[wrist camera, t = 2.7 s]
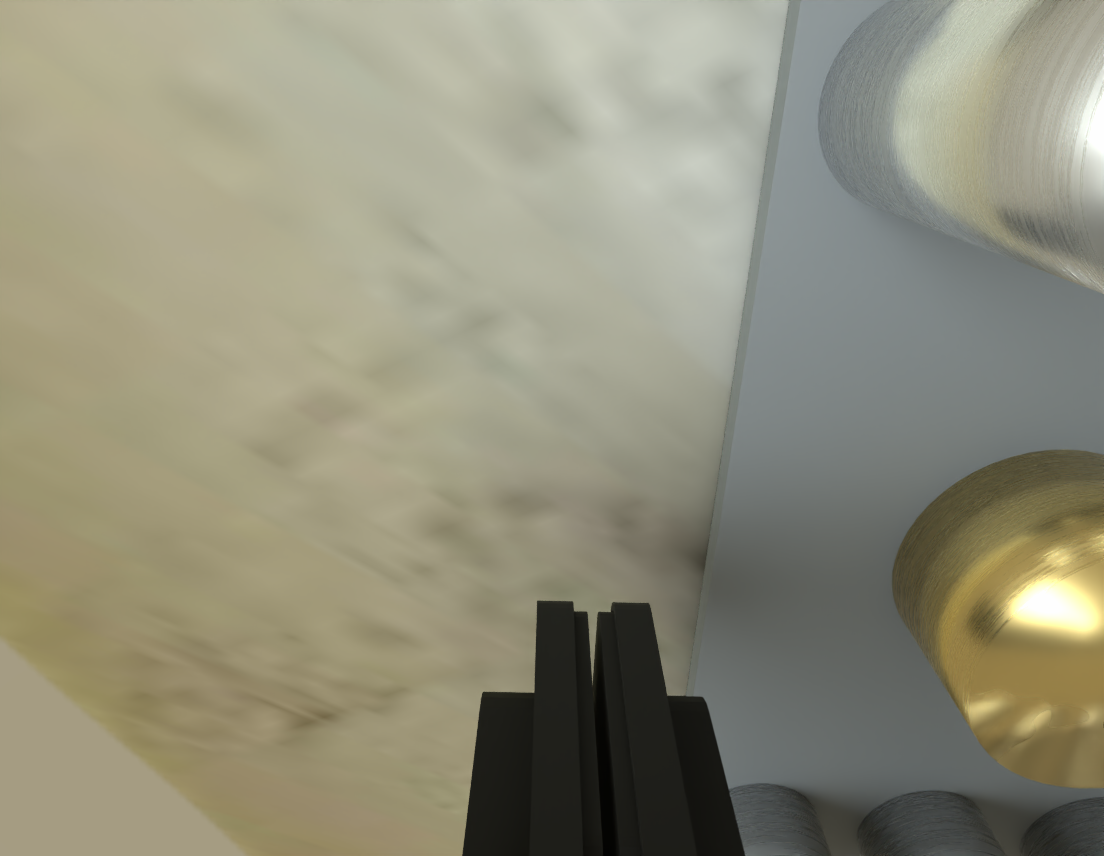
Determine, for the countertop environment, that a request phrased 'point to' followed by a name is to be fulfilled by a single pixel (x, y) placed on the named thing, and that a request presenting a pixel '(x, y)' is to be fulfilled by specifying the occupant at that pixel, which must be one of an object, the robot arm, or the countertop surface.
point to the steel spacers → (980, 219)
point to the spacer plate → (867, 471)
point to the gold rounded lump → (1017, 609)
